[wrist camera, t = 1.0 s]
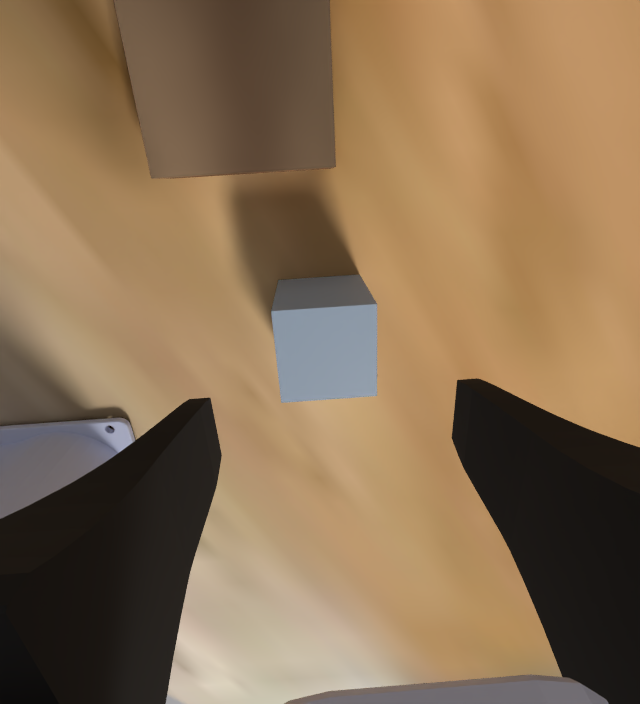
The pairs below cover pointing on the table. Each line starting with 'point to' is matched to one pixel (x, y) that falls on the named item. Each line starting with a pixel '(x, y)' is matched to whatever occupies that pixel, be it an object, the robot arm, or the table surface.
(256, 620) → the table surface
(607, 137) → the table surface
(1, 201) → the table surface
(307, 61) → the walnut pedestal
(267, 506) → the table surface
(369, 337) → the blue block
